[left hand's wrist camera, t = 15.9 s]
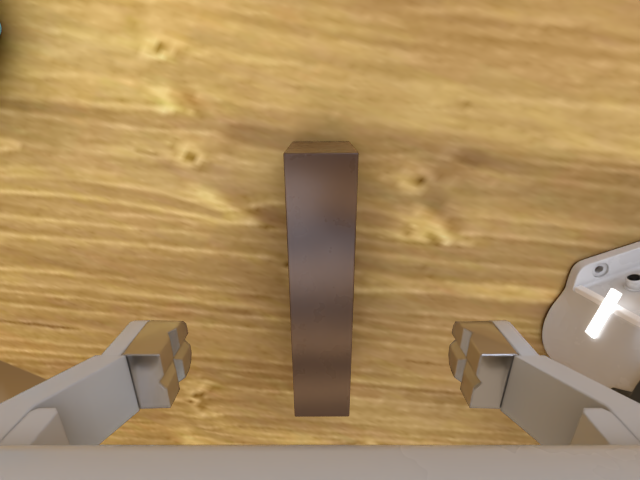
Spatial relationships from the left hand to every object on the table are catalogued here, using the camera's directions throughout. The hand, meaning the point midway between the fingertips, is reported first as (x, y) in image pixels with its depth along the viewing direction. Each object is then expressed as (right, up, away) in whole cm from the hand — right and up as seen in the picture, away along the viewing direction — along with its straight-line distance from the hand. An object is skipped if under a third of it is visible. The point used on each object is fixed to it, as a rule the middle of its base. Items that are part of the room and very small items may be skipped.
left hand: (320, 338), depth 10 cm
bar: (0, 0, +27) cm, 27 cm away
